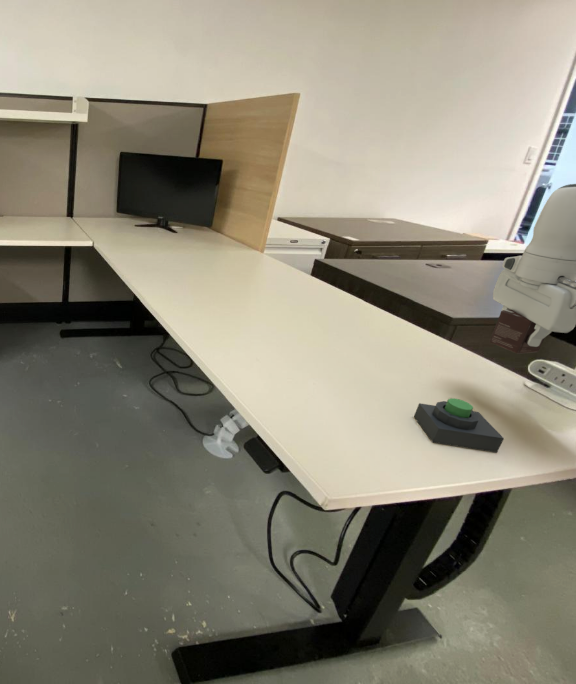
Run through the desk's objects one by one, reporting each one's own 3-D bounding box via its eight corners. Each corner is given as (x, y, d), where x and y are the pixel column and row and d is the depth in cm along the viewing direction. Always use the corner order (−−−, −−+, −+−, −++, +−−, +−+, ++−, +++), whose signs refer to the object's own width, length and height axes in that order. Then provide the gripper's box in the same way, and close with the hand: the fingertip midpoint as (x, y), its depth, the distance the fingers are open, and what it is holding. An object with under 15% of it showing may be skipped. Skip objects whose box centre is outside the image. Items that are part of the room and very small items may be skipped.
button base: (472, 425, 94) (482, 404, 92) (497, 452, 86) (508, 430, 84) (413, 416, 95) (422, 395, 93) (432, 442, 87) (442, 420, 85)
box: (539, 353, 94) (555, 319, 91) (516, 354, 92) (532, 320, 90) (508, 340, 99) (523, 308, 96) (487, 342, 98) (501, 309, 95)
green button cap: (462, 409, 90) (466, 400, 89) (473, 420, 87) (477, 411, 86) (440, 405, 91) (444, 396, 90) (449, 416, 87) (454, 407, 86)
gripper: (607, 287, 79) (570, 360, 85) (532, 260, 98) (506, 321, 103) (565, 283, 80) (531, 355, 86) (499, 257, 99) (475, 317, 104)
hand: (517, 336), depth 95 cm, fingers closed on box, 7 cm apart
